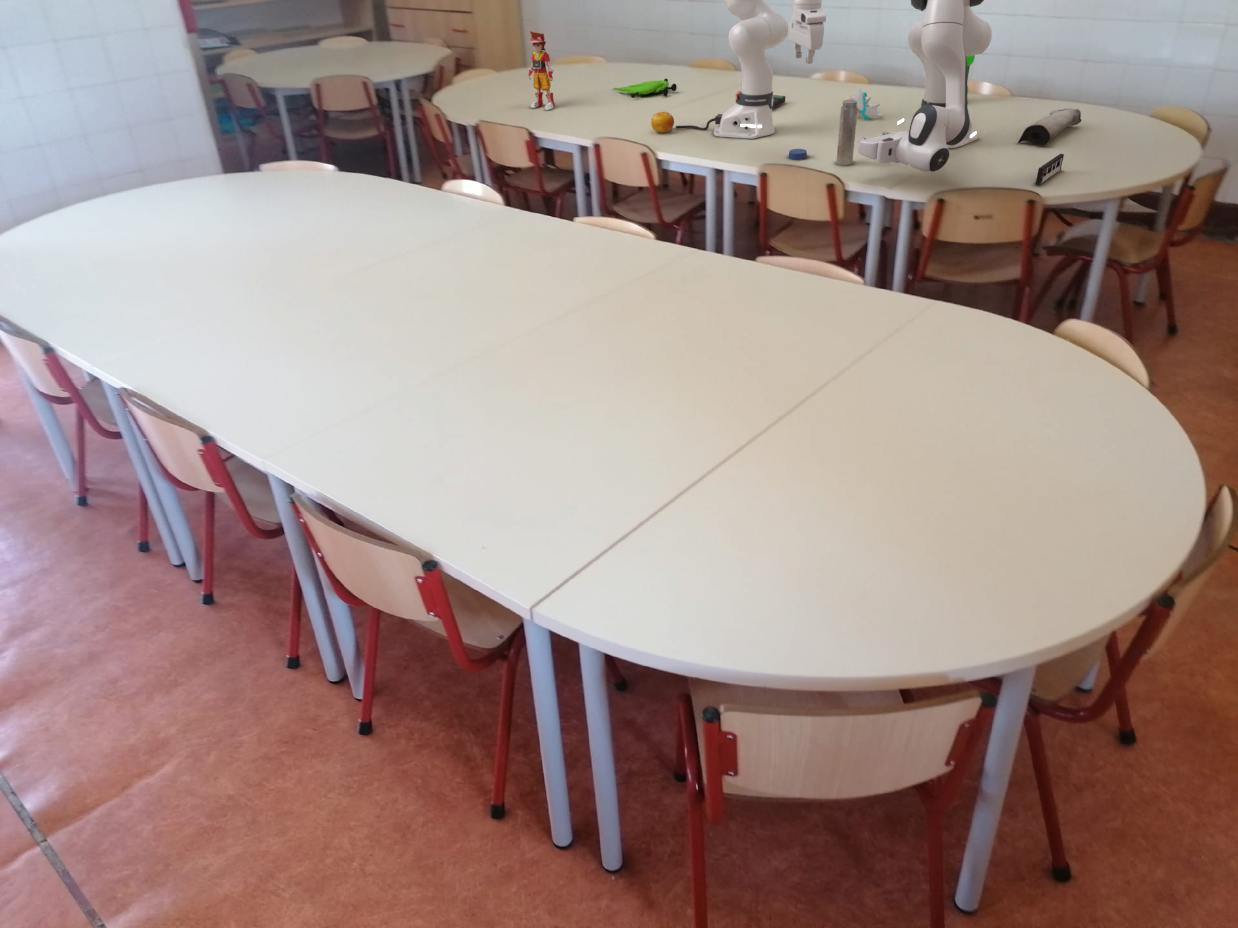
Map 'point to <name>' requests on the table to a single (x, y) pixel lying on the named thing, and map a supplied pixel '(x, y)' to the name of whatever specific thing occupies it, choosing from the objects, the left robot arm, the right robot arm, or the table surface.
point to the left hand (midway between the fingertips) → (803, 60)
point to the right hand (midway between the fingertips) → (872, 137)
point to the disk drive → (778, 100)
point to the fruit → (662, 122)
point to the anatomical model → (866, 106)
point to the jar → (847, 132)
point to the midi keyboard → (1049, 169)
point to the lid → (797, 154)
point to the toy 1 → (541, 71)
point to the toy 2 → (648, 88)
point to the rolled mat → (1050, 126)
